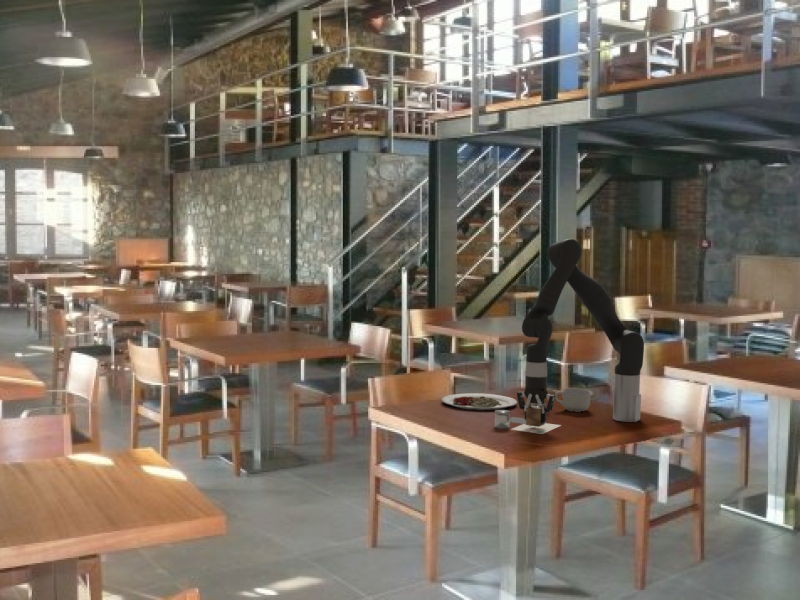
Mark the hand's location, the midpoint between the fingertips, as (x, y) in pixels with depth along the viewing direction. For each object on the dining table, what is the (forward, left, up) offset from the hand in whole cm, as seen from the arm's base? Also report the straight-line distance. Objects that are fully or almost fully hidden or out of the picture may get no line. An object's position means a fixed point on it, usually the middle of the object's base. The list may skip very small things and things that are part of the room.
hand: (535, 422), depth 319 cm
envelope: (0, -2, -3) cm, 3 cm away
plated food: (+37, -30, -3) cm, 48 cm away
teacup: (+2, -41, -3) cm, 41 cm away
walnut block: (0, 0, -1) cm, 1 cm away
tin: (+10, +5, -3) cm, 12 cm away
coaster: (+10, -9, -3) cm, 14 cm away
